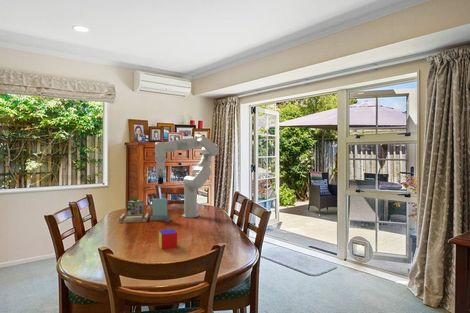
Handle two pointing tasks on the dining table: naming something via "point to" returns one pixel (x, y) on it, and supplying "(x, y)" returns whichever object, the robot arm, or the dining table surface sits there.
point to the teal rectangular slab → (159, 207)
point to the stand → (160, 218)
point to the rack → (144, 216)
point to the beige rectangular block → (133, 219)
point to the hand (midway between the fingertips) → (160, 183)
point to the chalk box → (135, 207)
